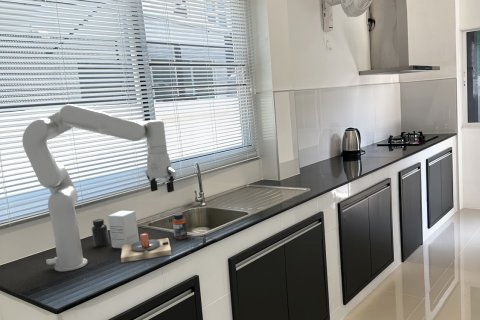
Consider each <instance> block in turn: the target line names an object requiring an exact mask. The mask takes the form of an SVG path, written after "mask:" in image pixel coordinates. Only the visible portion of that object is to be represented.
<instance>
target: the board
mask: <svg viewBox="0 0 480 320" xmlns="http://www.w3.org/2000/svg"><path fill="white" fill-rule="evenodd" d="M157 240H159V241H160V246H159V247H157V248H155V249H152V250H148V251H147V250H144V251H133V250H132V249H131V245H132V244H134V243H132V244H126V245H122V248H121V255H120V260H121V261H120V263H128V262H133V261H141V260H146V259H153V258H159V257H166V256H170V255H172V248H171V245H170V244H171V243H170V240H169V238H168V237H165V238H159V239H157Z"/></svg>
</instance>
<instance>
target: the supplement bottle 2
mask: <svg viewBox="0 0 480 320" xmlns="http://www.w3.org/2000/svg"><path fill="white" fill-rule="evenodd" d="M173 216H174V218H173V219H172V227H173V232H174V233H173V235H174V239H176V240H184V239H187V238H188V229H187V220H186V217H184V213H182V212H179V213H174V214H173Z"/></svg>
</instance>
